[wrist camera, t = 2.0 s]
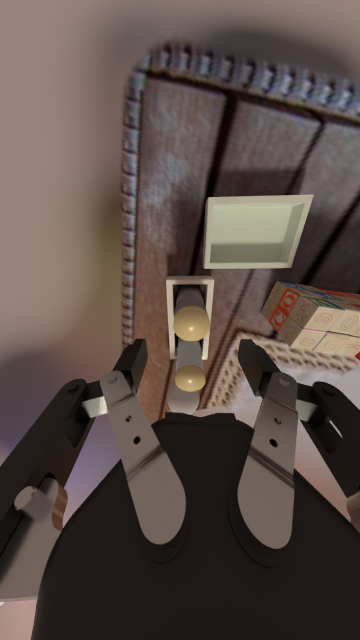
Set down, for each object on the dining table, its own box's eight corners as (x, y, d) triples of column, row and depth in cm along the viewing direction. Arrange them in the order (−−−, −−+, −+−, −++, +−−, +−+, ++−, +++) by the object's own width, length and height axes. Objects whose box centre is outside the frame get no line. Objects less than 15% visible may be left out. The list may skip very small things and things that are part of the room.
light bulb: (166, 362, 33) (159, 406, 24) (191, 355, 32) (194, 398, 23) (176, 380, 35) (173, 426, 27) (199, 374, 34) (205, 420, 25)
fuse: (199, 327, 29) (206, 370, 19) (198, 344, 30) (204, 391, 21) (178, 327, 29) (174, 370, 19) (178, 344, 31) (175, 391, 21)
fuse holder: (211, 275, 24) (214, 279, 22) (205, 349, 31) (207, 359, 28) (168, 276, 24) (166, 279, 22) (171, 349, 31) (170, 358, 29)
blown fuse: (201, 283, 25) (211, 308, 15) (200, 305, 27) (208, 341, 17) (177, 283, 25) (172, 308, 15) (178, 305, 27) (173, 341, 17)
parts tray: (297, 200, 20) (313, 194, 17) (279, 265, 23) (291, 267, 21) (205, 203, 20) (208, 197, 17) (202, 266, 24) (204, 268, 21)
